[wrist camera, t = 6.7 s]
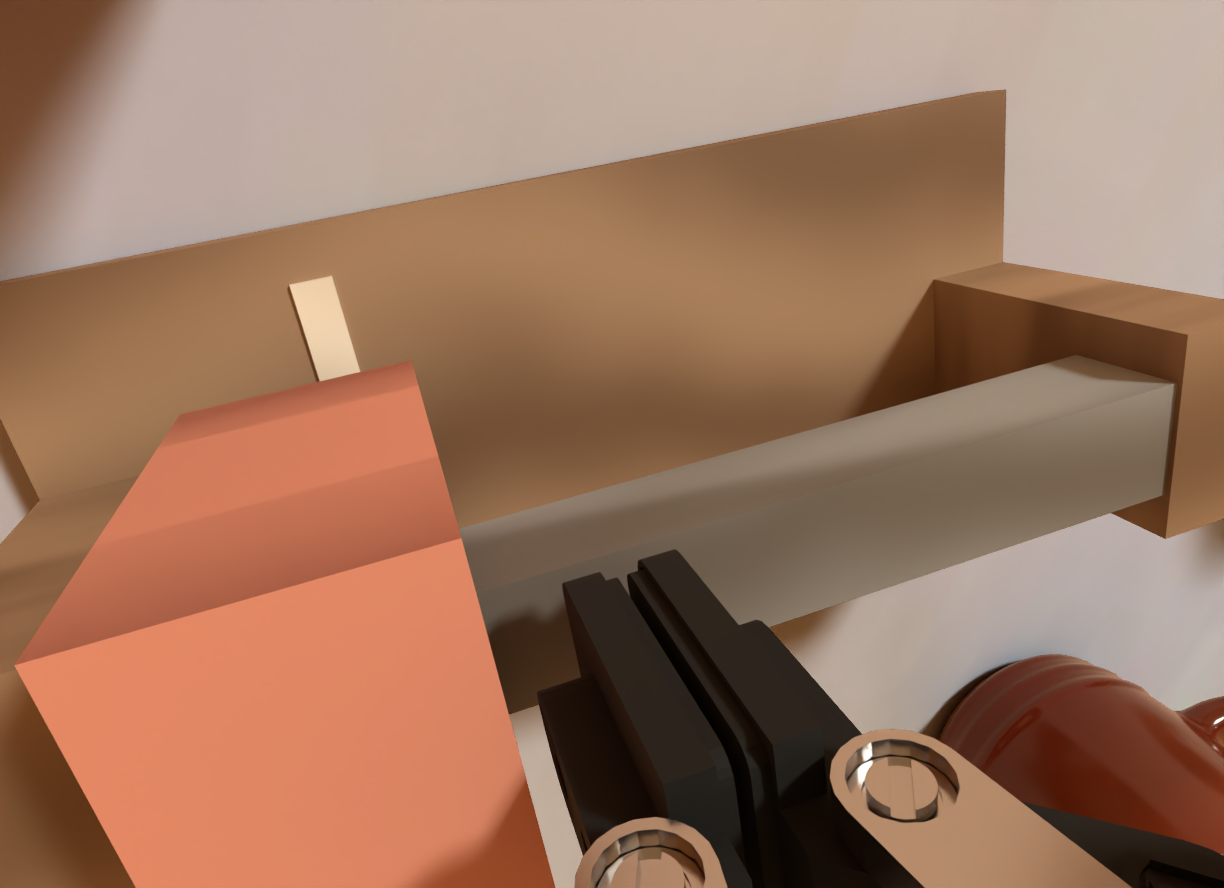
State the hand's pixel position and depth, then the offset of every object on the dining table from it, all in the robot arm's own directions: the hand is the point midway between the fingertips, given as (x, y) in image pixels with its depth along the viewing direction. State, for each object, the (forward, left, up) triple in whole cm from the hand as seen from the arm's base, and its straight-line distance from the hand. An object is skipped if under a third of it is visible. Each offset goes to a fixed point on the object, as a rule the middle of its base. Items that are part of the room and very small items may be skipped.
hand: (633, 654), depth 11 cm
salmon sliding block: (0, +4, -6) cm, 7 cm away
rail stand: (0, -2, -9) cm, 9 cm away
